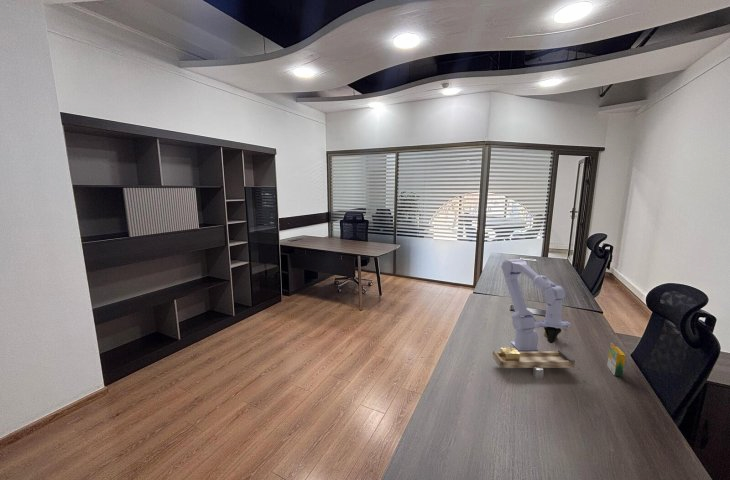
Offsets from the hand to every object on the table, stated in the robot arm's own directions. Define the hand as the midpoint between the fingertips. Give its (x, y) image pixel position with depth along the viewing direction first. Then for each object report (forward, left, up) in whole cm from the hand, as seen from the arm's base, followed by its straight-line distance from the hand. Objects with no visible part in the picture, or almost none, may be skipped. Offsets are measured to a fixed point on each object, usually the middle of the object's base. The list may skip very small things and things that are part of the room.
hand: (550, 342), depth 129 cm
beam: (+10, +4, -7) cm, 13 cm away
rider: (+19, +4, -6) cm, 21 cm away
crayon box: (-25, +6, -11) cm, 28 cm away
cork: (-16, -24, -11) cm, 31 cm away
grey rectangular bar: (+10, +4, -10) cm, 15 cm away
